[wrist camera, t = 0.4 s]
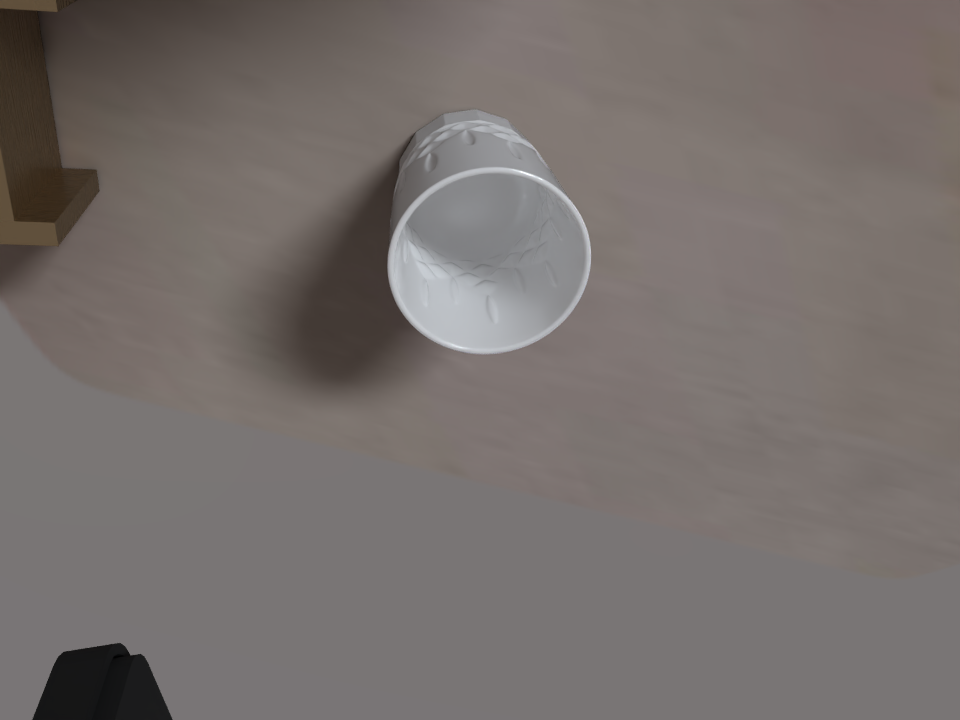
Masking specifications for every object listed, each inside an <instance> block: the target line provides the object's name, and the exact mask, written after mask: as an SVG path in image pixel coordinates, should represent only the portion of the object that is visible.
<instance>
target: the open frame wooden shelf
mask: <svg viewBox="0 0 960 720" xmlns="http://www.w3.org/2000/svg"><path fill="white" fill-rule="evenodd" d="M75 1H76V0H0V244H10V245H40V246H59V245H60V243H61V242H62V241H63V239H64V238H65V237H66V235H67V234H68V233H69V231H70V230H71V228H72V227H73V226H74V224H75V223H76V222H77V220H78V219H79V218H80V216H81V215H82V214H83V212H84V211H85V210H86V208H87V207H88V206H89V204H90V203H91V202H92V200H93V199H94V197H95V196H96V195H97V193H98V192H99V184H98V177H97V170H89V169H66V168H62V165H61V159H60V153H59V147H58V140H57V134H56V128H55V121H54V115H53V109H52V102H51V96H50V90H49V83H48V77H47V71H46V64H45V58H44V52H43V45H42V39H41V33H40V27H39V20H38V14H37V11H50V12H58V11H60V10H62V9H63V8H65V7H67V6H68V5H70V4H71V3H73V2H75Z"/></svg>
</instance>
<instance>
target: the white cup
mask: <svg viewBox="0 0 960 720" xmlns="http://www.w3.org/2000/svg"><path fill="white" fill-rule="evenodd" d="M590 265H591V247H590V240H589V236H588V232H587V229H586V226H585V223H584V221H583V219H582V217H581V215H580V213H579V212H578V210H577V208H576V207H575V206H574V204H573V203H572V201H571V200H570V198H569V197H568V195H567V194H566V192H565V190H564V189H563V187H562V186H561V184H560V183H559V181H558V180H557V178H556V176H555V175H554V173H553V172H552V170H551V169H550V168H549V166H548V165H547V163H546V162H545V161H544V160H543V158H542V157H541V156H540V154H539V153H538V152H537V151H536V149H535V148H534V147H533V146H532V145H531V144H530V142H529V141H528V140H527V139H526V138H525V137H524V136H523V135H522V134H521V133H520V132H519V131H518V130H517V129H516V128H515V127H514V126H513V125H512V124H511V123H510V122H509V121H508V120H507V119H505V118H502V117H498V116H495V115H492V114H489V113H486V112H483V111H480V110H477V109H474V110H467V111H460V112H453V113H446V114H442V115H441V116H439V117H438V118H436V119H435V120H433V121H432V122H430V123H429V124H427V125H426V126H424V127H423V128H421V129H420V130H418V131H417V132H416V133H415V135H414V136H413V138H412V140H411V141H410V143H409V145H408V147H407V148H406V150H405V152H404V153H403V155H402V157H401V158H400V162H399V176H398V179H397V182H396V185H395V189H394V197H393V204H392V210H391V219H390V237H389V248H388V260H387V270H388V279H389V284H390V288H391V292H392V294H393V297H394V299H395V302H396V304H397V306H398V307H399V309H400V311H401V312H402V314H403V315H404V316H405V318H406V319H407V320H408V321H409V323H410V324H411V325H412V326H413V327H414V328H415V329H416V330H418V331H419V332H420V333H421V334H423V335H424V336H425V337H427V338H428V339H430V340H432V341H433V342H435V343H437V344H439V345H441V346H444V347H446V348H449V349H452V350H455V351H459V352H464V353H471V354H498V353H504V352H509V351H513V350H517V349H520V348H523V347H525V346H528V345H530V344H532V343H534V342H536V341H538V340H540V339H542V338H543V337H545V336H546V335H548V334H549V333H551V332H552V331H553V330H554V329H556V328H557V327H558V326H559V325H560V324H561V323H562V322H563V321H564V320H565V319H566V318H567V317H568V316H569V314H570V313H571V312H572V311H573V309H574V308H575V306H576V305H577V303H578V301H579V300H580V298H581V296H582V294H583V292H584V289H585V287H586V284H587V280H588V277H589V272H590Z"/></svg>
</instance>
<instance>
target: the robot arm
mask: <svg viewBox="0 0 960 720" xmlns="http://www.w3.org/2000/svg"><path fill="white" fill-rule="evenodd" d="M33 720H172V717H171V715H170V713H169V710H168V708H167V706H166V704H165V701H164V699H163V697H162V694H161V692H160V690H159V687H158V685H157V683H156V681H155V678H154V676H153V674H152V671H151V669H150V667H149V664H148V662H147V660H146V659H145V657H144V656H143V655H141V654H138V655H131V656H130V654H129V652H128V650H127V649H126V647H125V646H124V645H122V644H121V643H117V644H110V645H105V646H97V647H91V648H85V649H79V650H73V651H66V652H63V653H62V654H61V655H60V656H59V657H58V658H57V660H56V662H55V664H54V666H53V668H52V671H51V673H50V676H49V679H48V681H47V684H46V687H45V689H44V692H43V694H42V697H41V699H40V702H39V704H38V707H37V709H36V712H35V714H34V717H33Z"/></svg>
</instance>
